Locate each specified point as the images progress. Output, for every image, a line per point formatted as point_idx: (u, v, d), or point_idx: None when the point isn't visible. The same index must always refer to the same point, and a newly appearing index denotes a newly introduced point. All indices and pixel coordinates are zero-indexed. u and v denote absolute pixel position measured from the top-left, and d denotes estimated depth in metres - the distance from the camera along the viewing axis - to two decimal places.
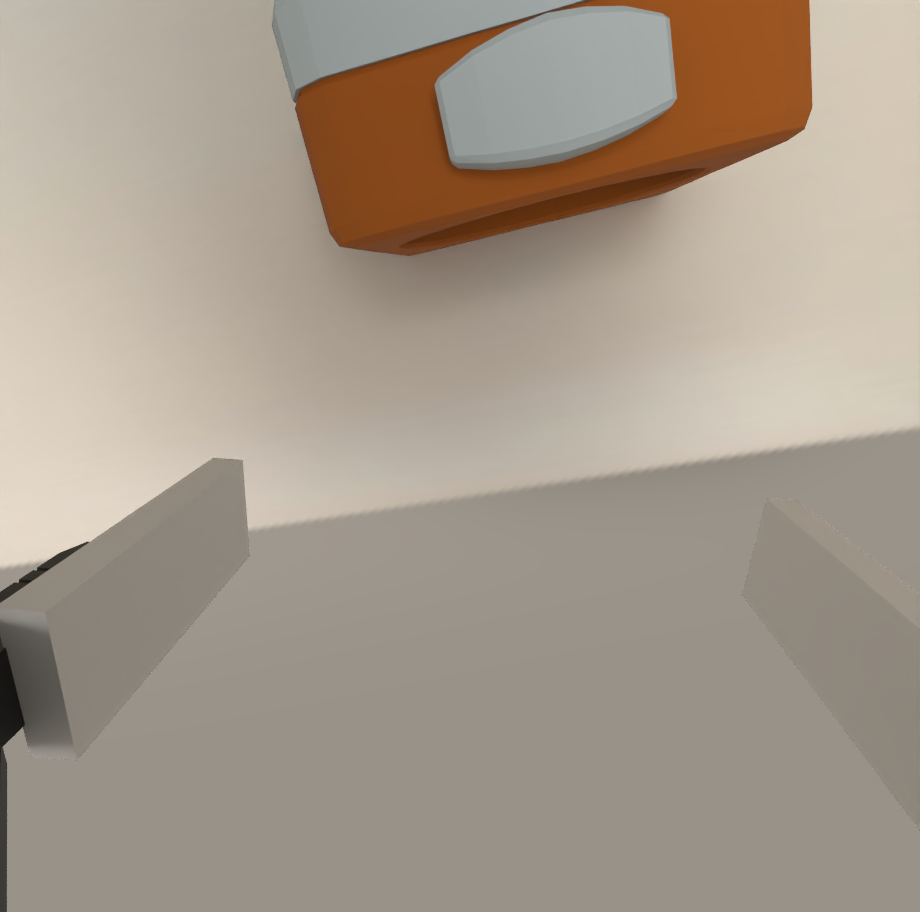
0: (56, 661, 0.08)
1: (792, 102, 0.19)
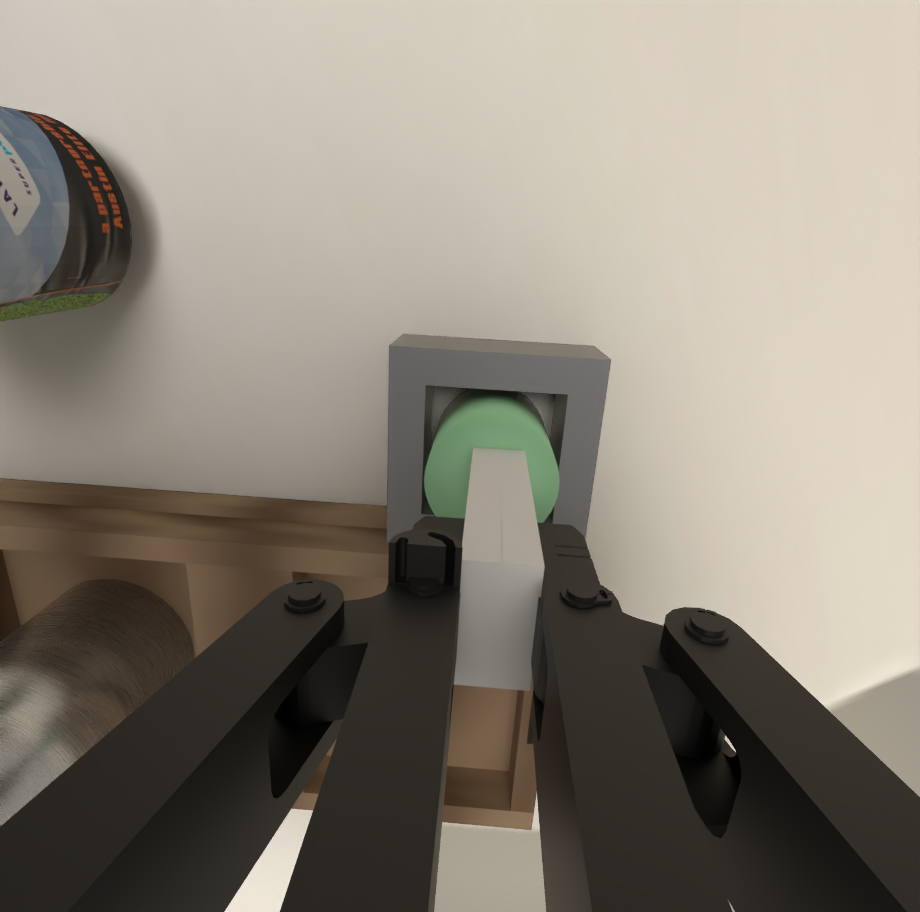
0: (496, 604, 0.10)
1: None
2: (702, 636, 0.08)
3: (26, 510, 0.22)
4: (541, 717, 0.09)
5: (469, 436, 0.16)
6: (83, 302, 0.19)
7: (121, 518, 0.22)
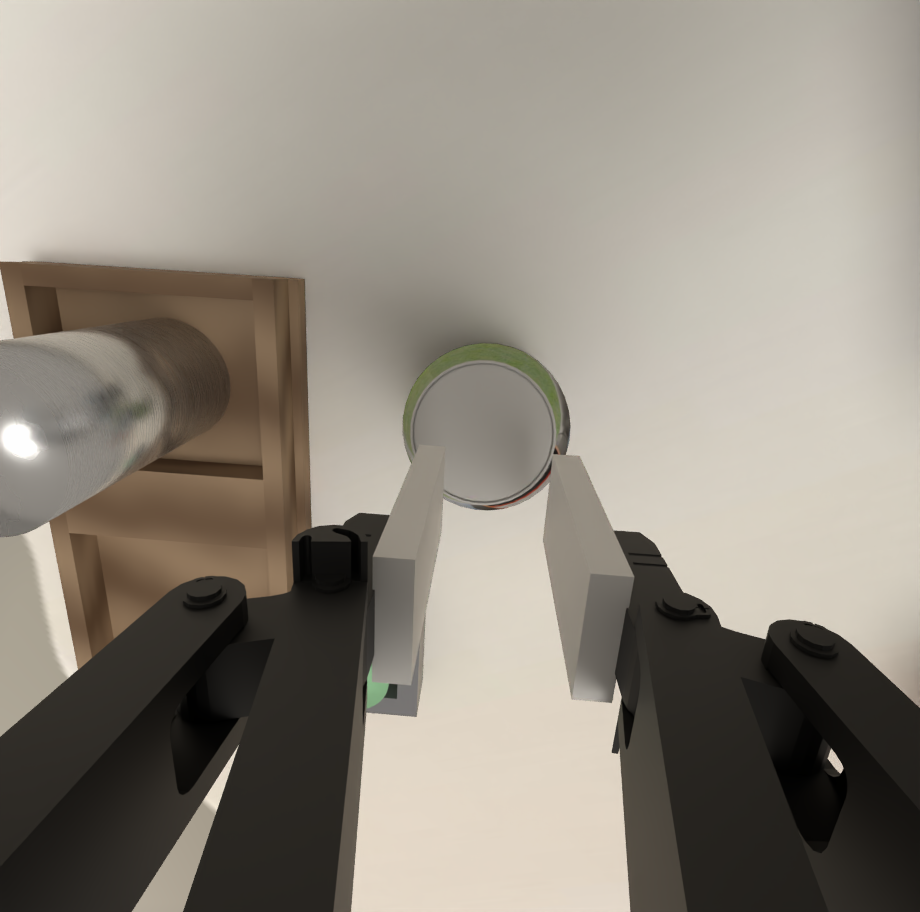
0: (411, 601, 0.10)
1: None
2: (809, 648, 0.08)
3: (285, 343, 0.28)
4: (629, 726, 0.09)
5: None
6: None
7: (288, 417, 0.29)
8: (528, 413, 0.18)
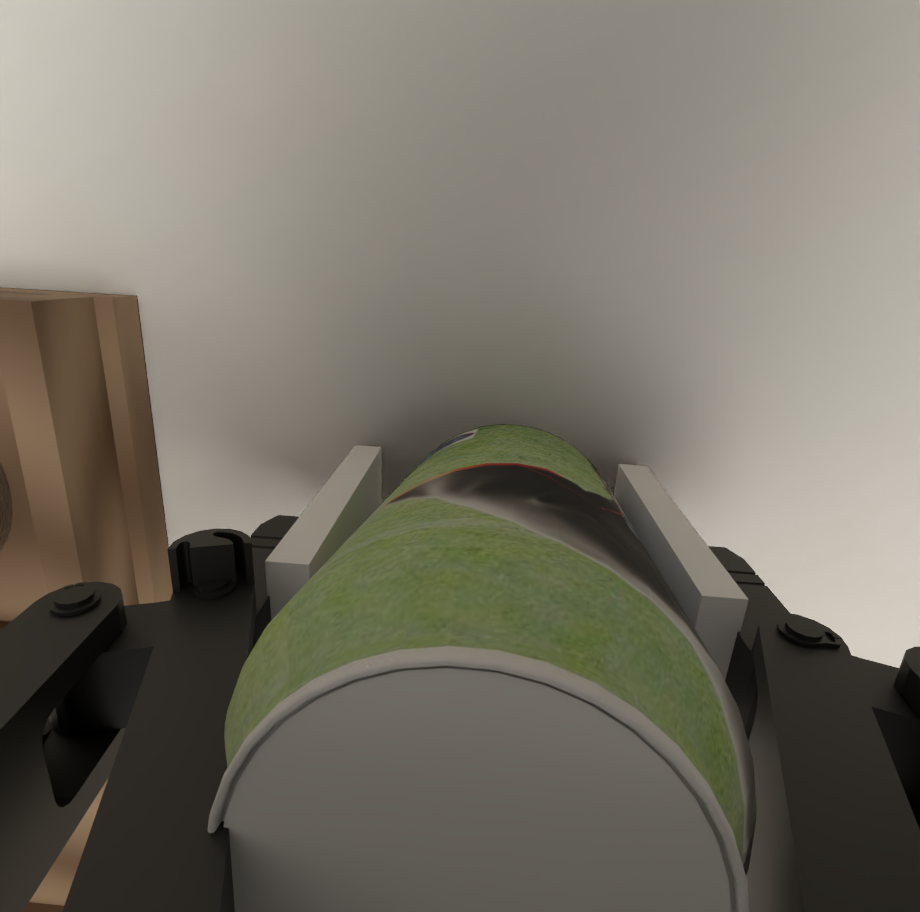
0: None
1: None
2: None
3: (93, 421, 0.14)
4: None
5: None
6: None
7: (113, 556, 0.16)
8: (639, 851, 0.05)
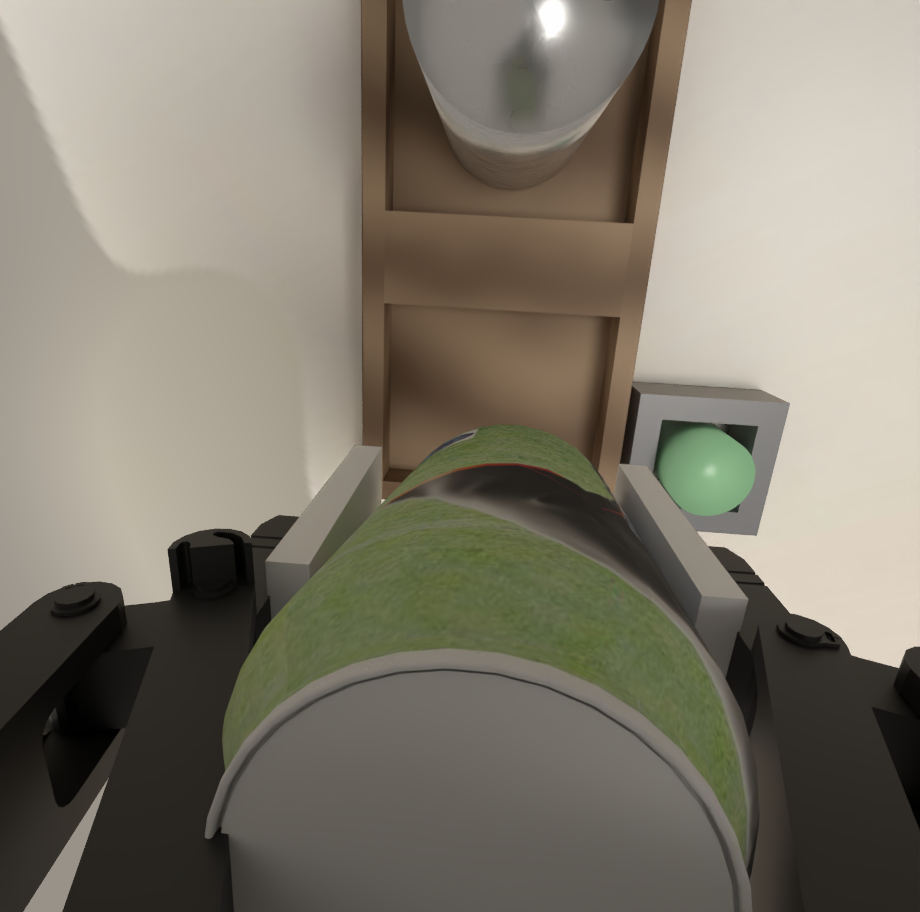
0: None
1: None
2: None
3: None
4: None
5: (745, 465, 0.26)
6: None
7: None
8: (642, 855, 0.05)
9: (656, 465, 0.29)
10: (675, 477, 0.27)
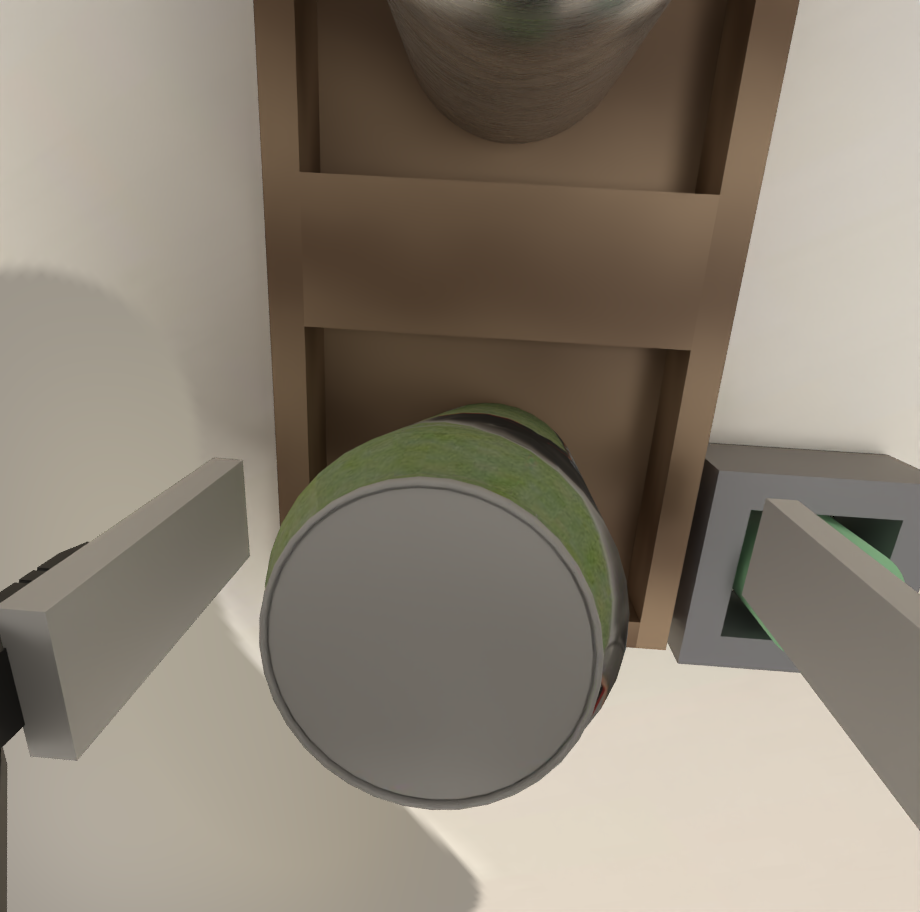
0: (56, 661, 0.08)
1: None
2: None
3: None
4: None
5: None
6: None
7: None
8: (535, 609, 0.08)
9: None
10: None
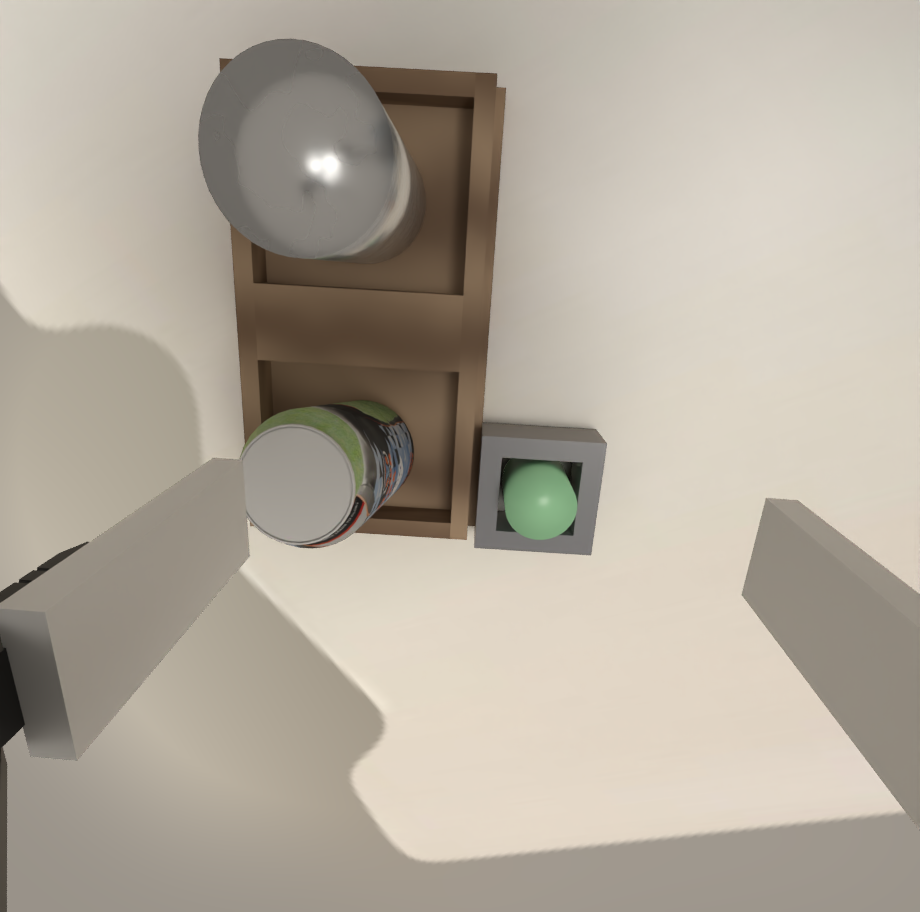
0: (56, 661, 0.08)
1: None
2: None
3: None
4: None
5: (567, 496, 0.31)
6: None
7: None
8: (331, 468, 0.22)
9: (503, 495, 0.33)
10: (511, 507, 0.31)
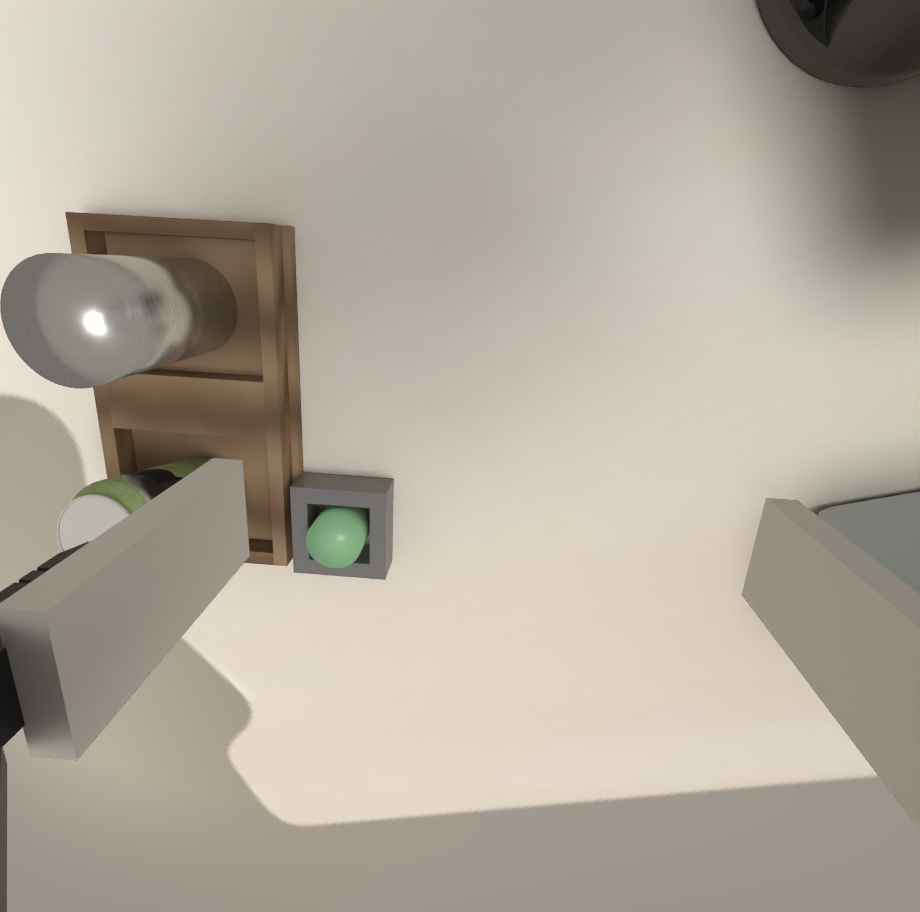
0: (55, 661, 0.08)
1: None
2: None
3: (279, 275, 0.37)
4: None
5: (352, 535, 0.40)
6: None
7: (282, 335, 0.38)
8: None
9: None
10: (310, 543, 0.40)
